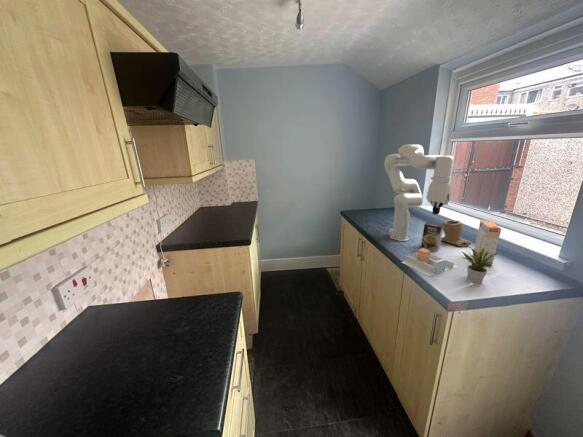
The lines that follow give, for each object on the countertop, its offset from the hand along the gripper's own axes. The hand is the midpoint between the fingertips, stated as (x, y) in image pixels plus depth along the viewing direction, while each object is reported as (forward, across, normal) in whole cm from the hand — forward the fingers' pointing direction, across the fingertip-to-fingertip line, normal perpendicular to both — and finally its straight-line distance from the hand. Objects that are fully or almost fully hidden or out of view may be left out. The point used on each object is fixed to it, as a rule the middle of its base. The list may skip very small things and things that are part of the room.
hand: (435, 213), depth 126 cm
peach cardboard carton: (+24, +6, -14) cm, 29 cm away
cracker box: (+25, +16, +21) cm, 37 cm away
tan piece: (+25, -6, +31) cm, 41 cm away
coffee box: (+25, -6, +9) cm, 28 cm away
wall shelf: (+25, +8, -11) cm, 29 cm away
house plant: (+25, +27, -4) cm, 37 cm away
